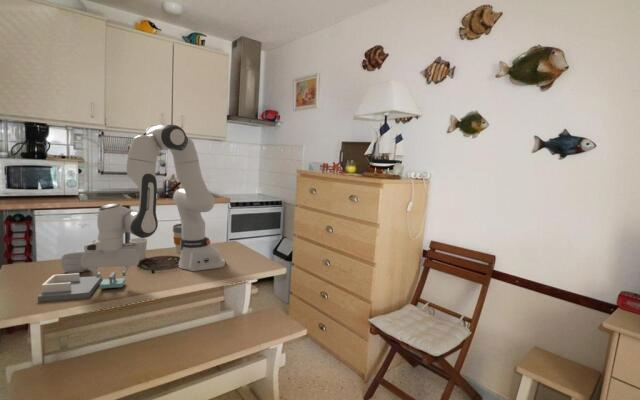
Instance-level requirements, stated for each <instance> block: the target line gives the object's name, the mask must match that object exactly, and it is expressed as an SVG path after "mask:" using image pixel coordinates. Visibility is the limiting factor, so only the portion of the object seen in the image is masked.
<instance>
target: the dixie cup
mask: <svg viewBox="0 0 640 400" xmlns="http://www.w3.org/2000/svg"><path fill="white" fill-rule="evenodd" d="M129 243H136V244H137V245H139V247H140V251H139V261H142V260H144V259H146V254H147V245H148V238H140V237H138V238H132V239H130V240H129ZM137 245H136V246H137Z"/></svg>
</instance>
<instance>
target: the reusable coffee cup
mask: <svg viewBox="0 0 640 400" xmlns="http://www.w3.org/2000/svg"><path fill="white" fill-rule="evenodd" d="M172 232H173V235H172V236H173V244H174V245H175V251H176V254H180V255H181V245H180V242H181V238H182V226H181V223H176V224H174V225H172Z"/></svg>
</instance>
